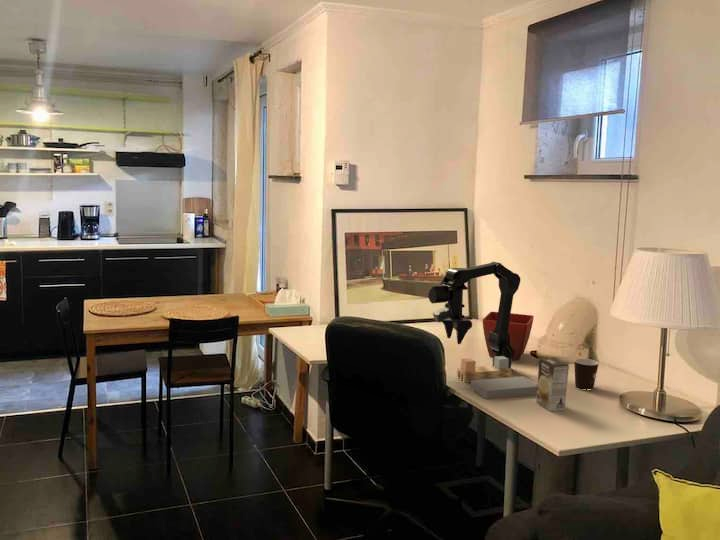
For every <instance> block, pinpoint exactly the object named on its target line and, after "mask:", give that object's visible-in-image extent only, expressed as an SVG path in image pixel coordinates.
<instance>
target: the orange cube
mask: <svg viewBox="0 0 720 540" xmlns="http://www.w3.org/2000/svg"><path fill="white" fill-rule="evenodd" d="M460 362H461V363H460V368H461V369H462V370H463V371H465V372H473V371H475V367H476V362H477V361H476V360H475V359H473V358H471V357H470V358H468V357H467V358H461V361H460Z"/></svg>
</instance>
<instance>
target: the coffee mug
mask: <svg viewBox="0 0 720 540" xmlns="http://www.w3.org/2000/svg"><path fill="white" fill-rule="evenodd" d="M573 361H574V362H573V363H574V364H573V365H574V382H575V385H574V386H576V387H577V388H579V389H578V390H580V389H586V390H587V389H593V390H594V388H595V383H596V378H597V374H598V368H599V361H597V360H594V359H590V358H576V359H574V360H573ZM576 387H575V388H576ZM577 388H576V389H577ZM586 390H585V391H586Z"/></svg>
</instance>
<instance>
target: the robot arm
mask: <svg viewBox="0 0 720 540" xmlns="http://www.w3.org/2000/svg"><path fill="white" fill-rule="evenodd" d="M489 275H493V276H494V277H495V278H496V279H498V288H499V291H500V298H499V303H498V310H497V312H498V316H497V322H496V328H495V330H494V331H493V332H490V333H489V339H488V342H489V346H490V348H491V350H492V352H493V353H496V354H494V357H498V356H504V357H506V358H508V359H509V362H508V368H510V369H511V370H512V372H513V370H514V369H513V368H512V359H511V357H514V355H515V350H514V349H513V348H512V347H511V346H510V336H509V332H508V327H509V321H510V314H511V313H512V307H513V301H514V295H515V294H516V293H517V291H518V290H519V287H520V284H521V277H520V275H519V274H518V273H516V272H513V271H512V270H510V269H509V268H507V267H505V265H503V264H502V263H501V262H498V261H497V262H496V261H491V262H490V263H489V262H488V263H485V264H481V265H475V266H471V267H466V268H465V267H451V268H449V269H447V270H446V272H445V275H444V277H443V279H442V281H441V282H440V283H439V284H438V285H435V284H432V285H431V288H430V289H429V291H428V293H427V295H428V296H427V297H428V300H429V302H430V303H431V304H442V303H445V304H444V307H442V308H439V309H437V310H435V311H433V312H432V317H433V319H434V321H436V322H437V323H442V324H443V326H444V330H445V334H446V337H447V339H451V337H452V334H453V331H454V330H455V332H456V342H457V345H461V344H462V342H463V340H464V338H465V336H466V335H467V333H468V331H469V330H471V328H473V322H472V321H471V320H470V319H468V318H465V315H464V314H463V308H465V307H466V306H465V304H463V301H464V298H463V297H464V290H466V291H467V290H468V289H469V287H468V286H466V285H465V284H466V283H468V282H470V281H471V280H473V279H476V278H480V277H484V276H489ZM494 357H492V366H494Z"/></svg>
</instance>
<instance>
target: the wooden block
mask: <svg viewBox="0 0 720 540" xmlns="http://www.w3.org/2000/svg"><path fill="white" fill-rule="evenodd" d="M511 369H512V368H511ZM511 369H510V368H508V369H500V370H499V369H497V368H495V367H494V366H493V365H488V366H475V371H473V372H465V371H463V370H462V369H461V367H458V368H456V378H457V377H458V378H459V380H460V379H461V380H463V381H464V382H467V383H471V380H483V379H496V378H509V377H512V375H513V374H512V372H513V371H512V370H511ZM458 378H457V379H458ZM461 380H460V381H461ZM463 381H462V382H463ZM464 382H463V383H464Z"/></svg>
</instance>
